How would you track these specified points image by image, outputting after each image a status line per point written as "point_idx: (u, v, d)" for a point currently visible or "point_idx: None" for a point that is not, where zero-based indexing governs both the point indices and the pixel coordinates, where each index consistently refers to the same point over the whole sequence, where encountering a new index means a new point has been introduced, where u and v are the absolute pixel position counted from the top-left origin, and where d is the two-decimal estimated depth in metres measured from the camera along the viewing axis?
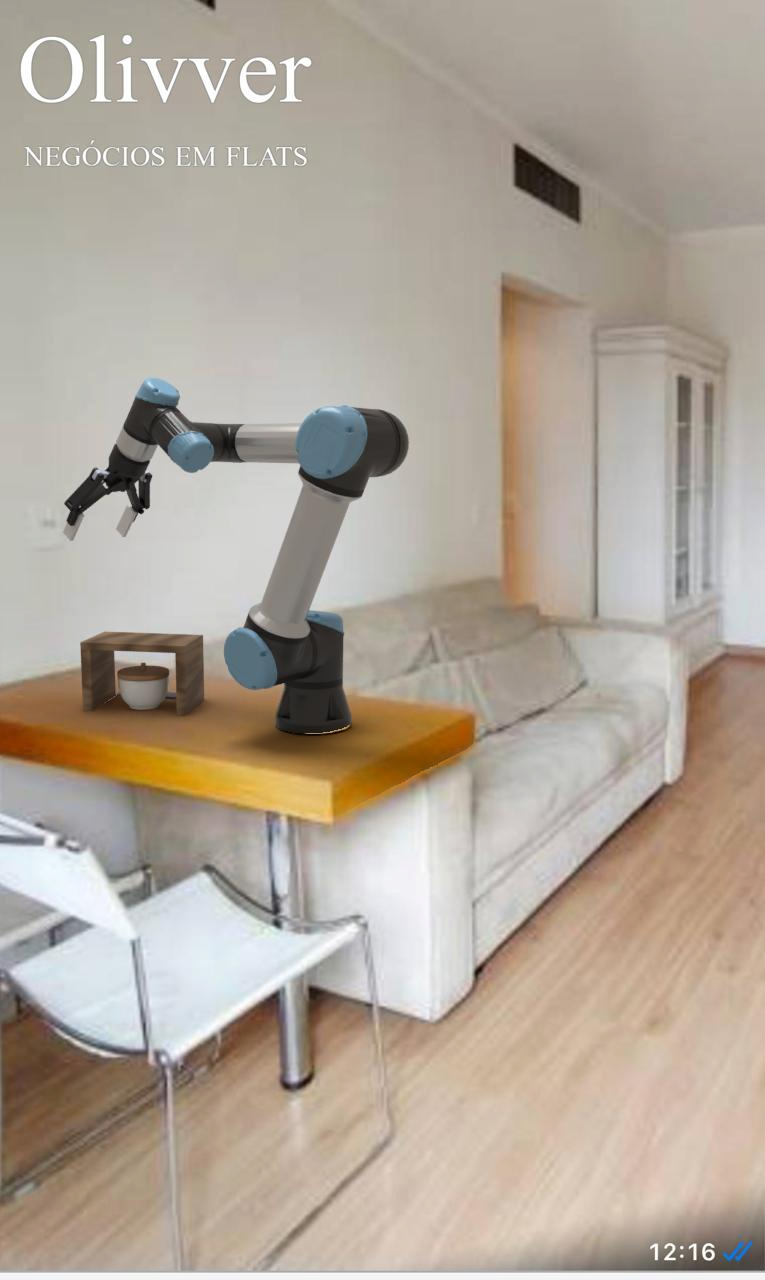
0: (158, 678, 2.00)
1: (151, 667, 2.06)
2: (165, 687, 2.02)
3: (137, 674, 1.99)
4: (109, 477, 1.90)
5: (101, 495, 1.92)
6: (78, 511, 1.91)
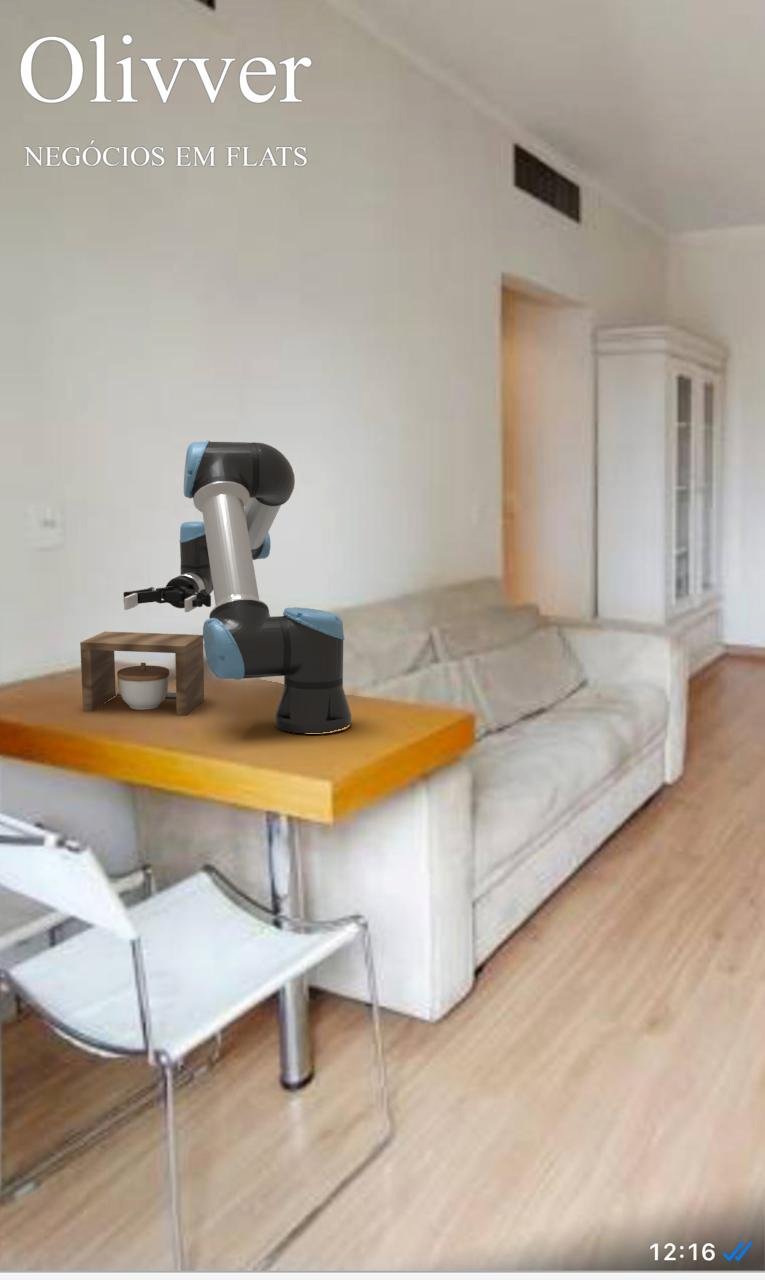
0: (158, 678, 2.00)
1: (151, 667, 2.06)
2: (165, 687, 2.02)
3: (137, 674, 1.99)
4: None
5: (153, 591, 2.21)
6: None
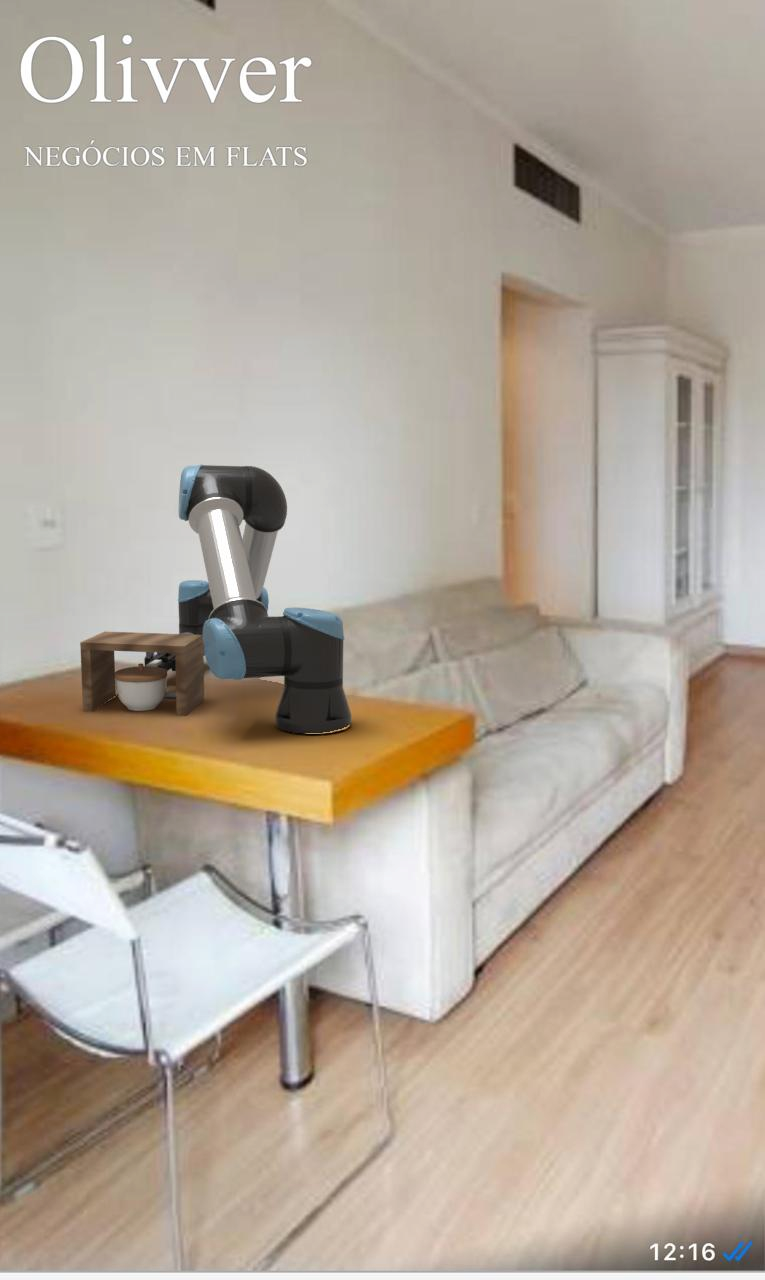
0: (156, 679, 1.99)
1: (149, 668, 2.04)
2: (163, 688, 2.01)
3: (135, 675, 1.98)
4: None
5: (161, 654, 2.20)
6: (151, 659, 2.15)
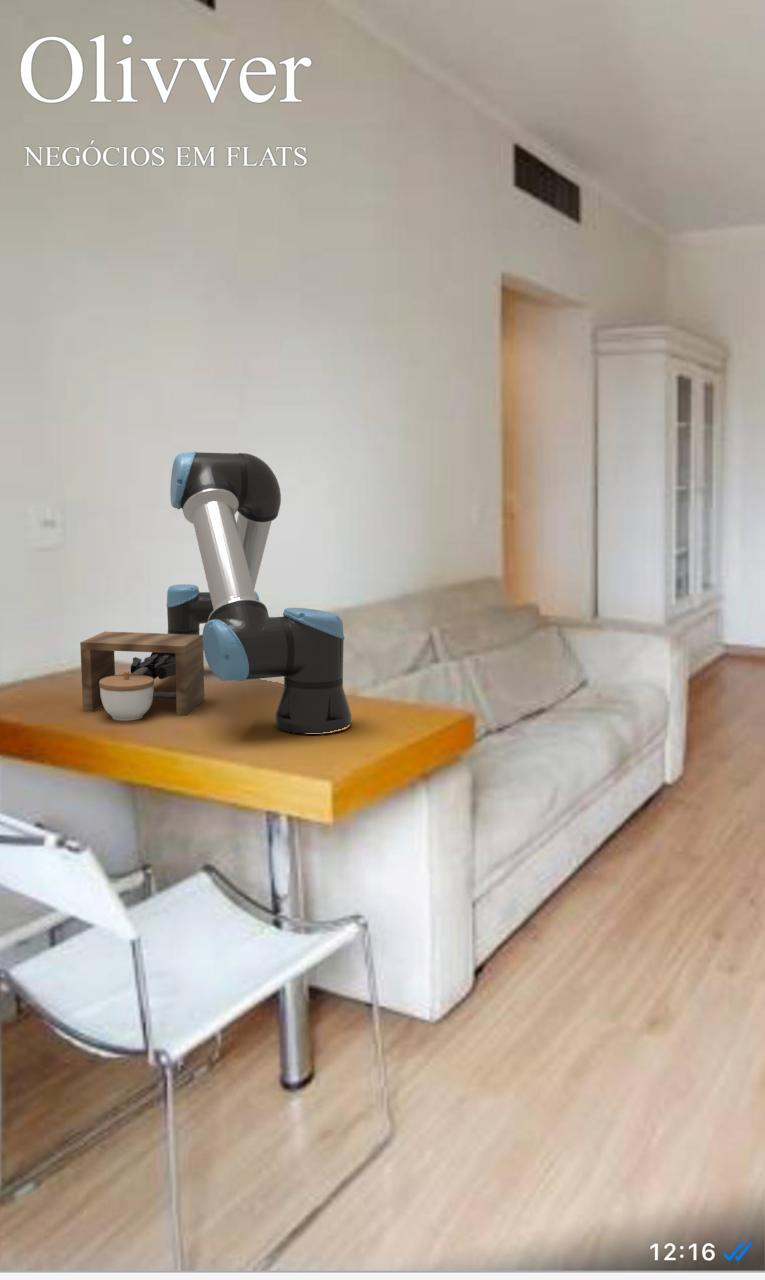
0: (142, 687, 1.91)
1: (135, 676, 1.97)
2: (149, 697, 1.93)
3: (120, 684, 1.90)
4: (145, 658, 2.17)
5: (149, 662, 2.12)
6: (138, 667, 2.07)
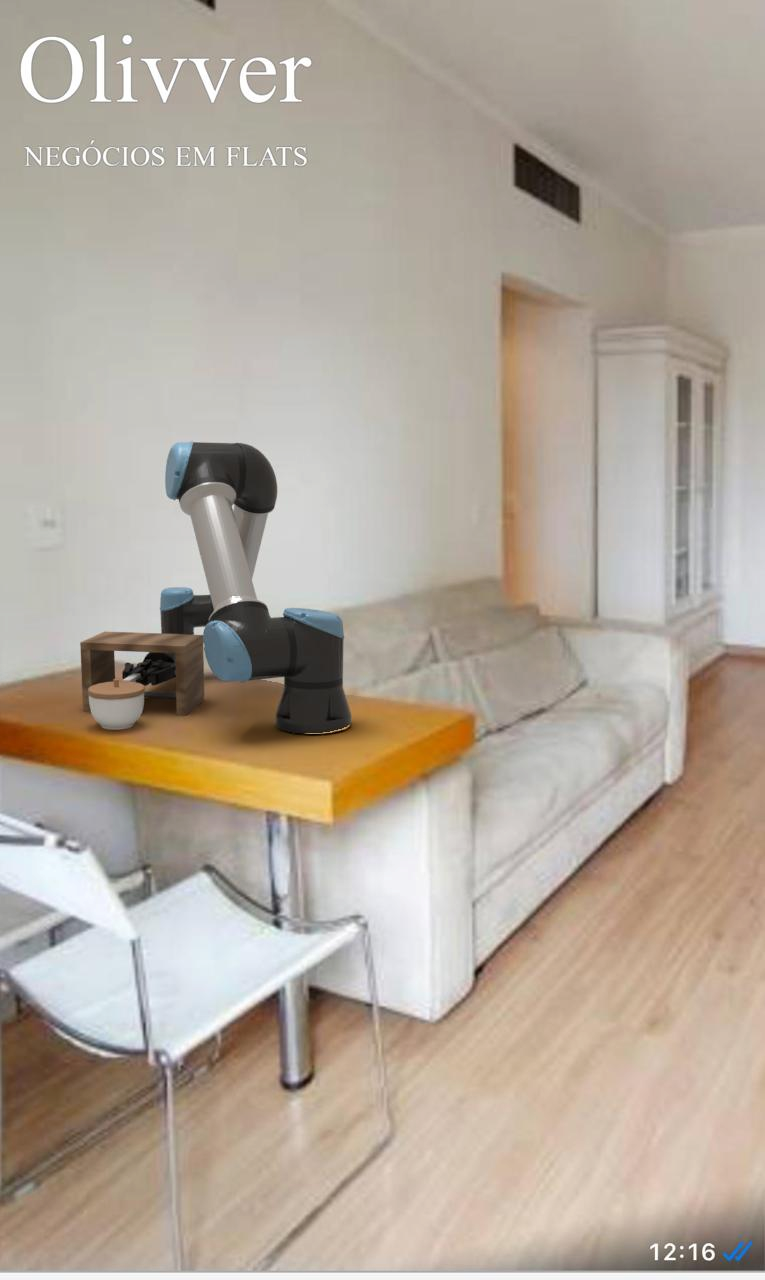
0: (131, 696, 1.84)
1: (125, 683, 1.90)
2: (139, 705, 1.87)
3: (108, 691, 1.84)
4: None
5: (141, 667, 2.06)
6: (130, 673, 2.00)
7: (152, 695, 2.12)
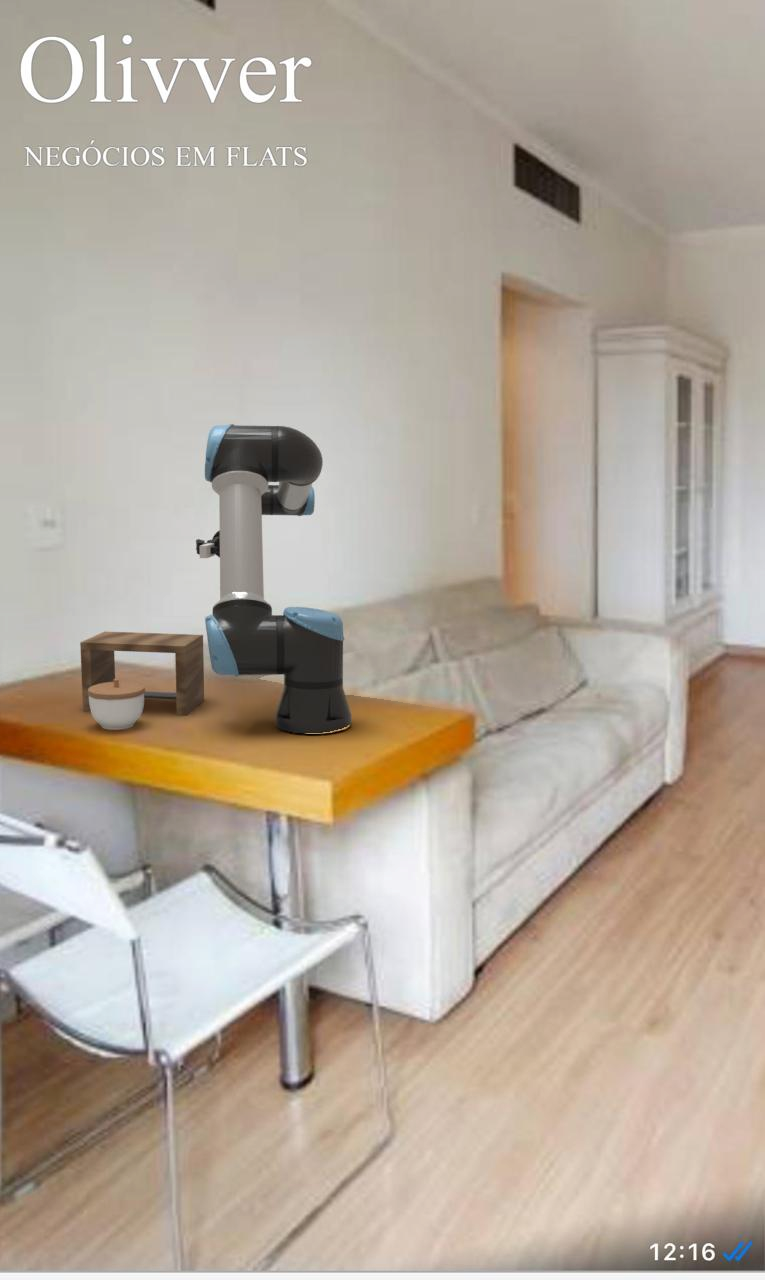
0: (131, 696, 1.84)
1: (125, 683, 1.90)
2: (139, 706, 1.87)
3: (108, 692, 1.84)
4: None
5: (212, 541, 2.21)
6: (204, 543, 2.16)
7: (152, 695, 2.12)
